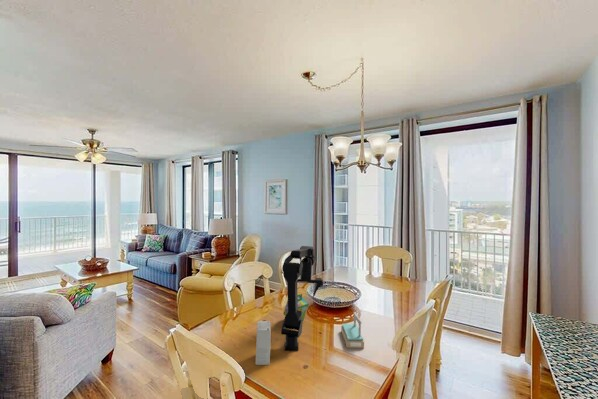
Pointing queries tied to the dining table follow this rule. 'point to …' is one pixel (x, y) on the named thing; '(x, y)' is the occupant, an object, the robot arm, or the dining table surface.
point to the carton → (352, 341)
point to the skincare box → (263, 343)
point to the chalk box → (299, 306)
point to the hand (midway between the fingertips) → (304, 296)
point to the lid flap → (353, 329)
